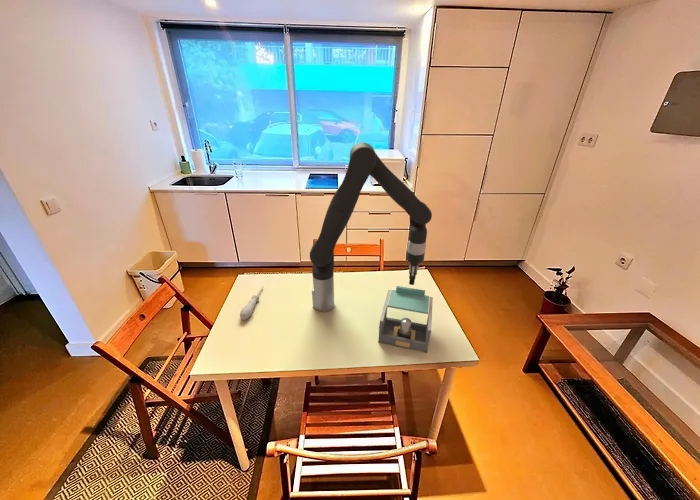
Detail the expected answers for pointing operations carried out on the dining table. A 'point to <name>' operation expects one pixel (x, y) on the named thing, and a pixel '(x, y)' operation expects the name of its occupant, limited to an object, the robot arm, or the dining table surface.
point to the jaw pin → (405, 328)
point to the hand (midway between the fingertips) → (411, 283)
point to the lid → (409, 299)
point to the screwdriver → (249, 307)
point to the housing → (418, 331)
